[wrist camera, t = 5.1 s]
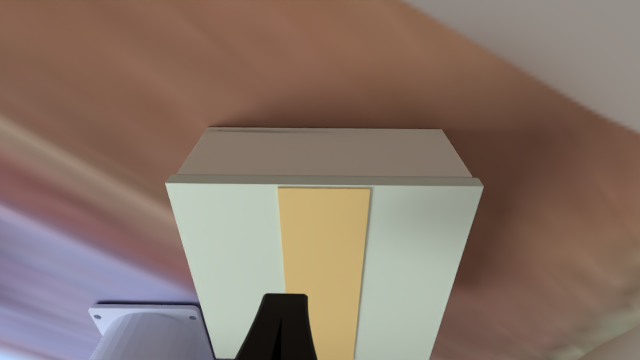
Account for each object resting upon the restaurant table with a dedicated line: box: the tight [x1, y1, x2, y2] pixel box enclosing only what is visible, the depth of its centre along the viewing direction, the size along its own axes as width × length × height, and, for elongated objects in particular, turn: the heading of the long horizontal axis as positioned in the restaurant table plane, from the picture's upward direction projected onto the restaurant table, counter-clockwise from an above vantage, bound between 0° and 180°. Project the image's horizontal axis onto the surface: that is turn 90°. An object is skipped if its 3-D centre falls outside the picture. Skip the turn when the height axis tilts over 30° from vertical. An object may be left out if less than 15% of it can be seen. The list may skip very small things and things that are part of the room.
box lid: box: [165, 175, 484, 360], centre depth 17 cm, size 12×12×1 cm
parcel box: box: [177, 127, 472, 178], centre depth 20 cm, size 12×12×4 cm
